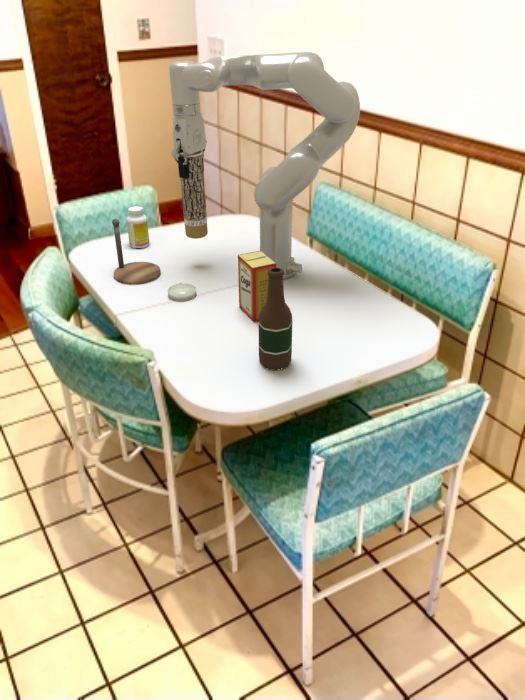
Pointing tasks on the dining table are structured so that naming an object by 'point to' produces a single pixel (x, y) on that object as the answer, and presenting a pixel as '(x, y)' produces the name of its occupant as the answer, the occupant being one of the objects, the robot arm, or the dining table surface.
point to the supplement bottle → (137, 228)
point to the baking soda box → (253, 282)
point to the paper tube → (194, 198)
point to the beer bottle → (275, 325)
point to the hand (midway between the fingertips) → (191, 174)
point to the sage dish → (182, 292)
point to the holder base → (132, 265)
